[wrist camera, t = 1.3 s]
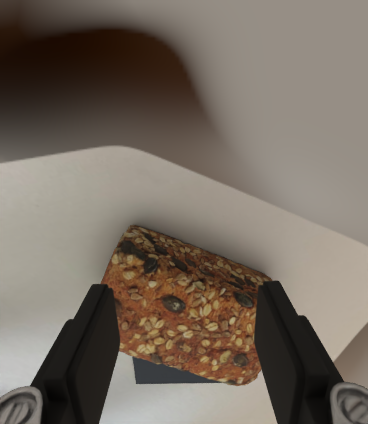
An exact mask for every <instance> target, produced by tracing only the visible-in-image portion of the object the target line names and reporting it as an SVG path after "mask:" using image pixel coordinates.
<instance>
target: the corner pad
mask: <svg viewBox="0 0 368 424" xmlns="http://www.w3.org/2000/svg"><path fill="white" fill-rule="evenodd" d="M133 363H134V371H135V378H136V384H167V383H222V382H220V381H216V380H213V379H208V378H205V377H202V376H199V375H196V374H194V373H191V372H189V371H186V372H184V371H181V370H178V369H177V368H174V367H170V366H166V365H165V364H155V363H152V362H150V361H148V360H144V359H142V358H136V357H134V356H133Z"/></svg>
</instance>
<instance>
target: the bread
mask: <svg viewBox="0 0 368 424" xmlns="http://www.w3.org/2000/svg"><path fill="white" fill-rule="evenodd" d="M264 281H272V279H271V278H270V277H268V276H266V275H265V274H263V273H261V272H258V271H255V270H252V269H250V268H247V267H245V266H243V265H241V264H238V263H234V262H232V261H230V260H228V259H226V258H224V257H220V256H217V255H215V254H212V253H210V252H208V251H204V250H202V249H200V248H196V247H194V246H192V245H190V244H183V243H182V242H181V241H180V240H177V239H174V238H171V237H169V236H166V235H164V234H160V233H157V232H154V231H151V230H147V229H143V228H141V227H138V226H136V225H130V226H129V228H128V230H127V231H126V232H125V233H124V234H123V235H122V237H121V239H120V241H119V243H118V245H117V247H116V249H115V250H114V252H113V255H112V257H111V259H110V262H109V264H108V267H107V269H106V272H105V275H104V277H103V279H102V281H101V284H107V285H108V287H109V288H113V292H114V299H115V306H116V313H117V320H118V327H119V334H120V348H119V351H120V352H124V353H126V354H127V355H130V356H134V357H136V358H142V359H144V360H148V361H150V362H152V363H155V364H165V365H166V366H170V367H174V368H177V369H178V370H181V371H184V372H186V371H189V372H191V373H194V374H196V375H199V376H202V377H205V378H208V379H213V380H216V381H220V382H222V383H226V384H228V385H235V386H240V385H246V384H248V383H250V382H252V381H254V380H255V379H256V378H257V376H258V373H259V372H260V371H261V365H260V362H259V359H258V355H257V352H256V348H255V344H254V329H255V318H256V307H257V296H258V286H259V285H263V282H264Z"/></svg>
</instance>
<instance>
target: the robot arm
mask: <svg viewBox="0 0 368 424" xmlns="http://www.w3.org/2000/svg"><path fill="white" fill-rule="evenodd" d="M254 344H255V348H256V352H257V355H258V359H259V362H260V365H261V369H262V372H263V376H264V379H265V383H266V386H267V389H268V393H269V396H270V400H271V403H272V406H273V410H274V413H275V417H276V420H277V423H278V424H368V389H367V388H365V387H363V386H361V385H358V384H355V383H350V382H344V381H343V379H342V377H341V375H340V374H339V372H338V370H337V369H336V367H335V365H334V363H333V362H332V360H331V358H330V357H329V355H328V353H327V351H326V350H325V348H324V346H323V345H322V343H321V341H320V339H319V338H318V336H317V334H316V332H315V331H314V329H313V327H312V326H311V324H310V322H309V320H308V319H307V318H306V317H305V316H304V315H299V316H298V314H297V313H296V311H295V309H294V307H293V305H292V303H291V302H290V300H289V298H288V296H287V294H286V293H285V291H284V289H283V287H282V285H281V283H280V282H279V281H264V282H263V285H259V286H258V296H257V307H256V318H255V329H254ZM119 348H120V334H119V327H118V320H117V313H116V306H115V299H114V292H113V288H109V287H108V285H107V284H93V285H92V286H91V287H90V289H89V291H88V293H87V295H86V297H85V299H84V300H83V302H82V304H81V306H80V308H79V310H78V312H77V314H76V315H75V317H74V319H69V320H68V321H67V322H66V323H65V324H64V326H63V328H62V330H61V332H60V333H59V335H58V337H57V339H56V340H55V342H54V344H53V346H52V348H51V349H50V351H49V353H48V355H47V356H46V358H45V360H44V362H43V364H42V365H41V367H40V369H39V371H38V372H37V374H36V376H35V378H34V380H33V381H32V383H31V385H30V386H25V387H20V388H17V389H14V390H12V391H10V392H8V393H7V394H5V395H3V396H2V397H0V424H99V421H100V418H101V414H102V410H103V407H104V403H105V399H106V396H107V392H108V389H109V385H110V381H111V378H112V374H113V370H114V367H115V363H116V359H117V356H118V352H119Z"/></svg>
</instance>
